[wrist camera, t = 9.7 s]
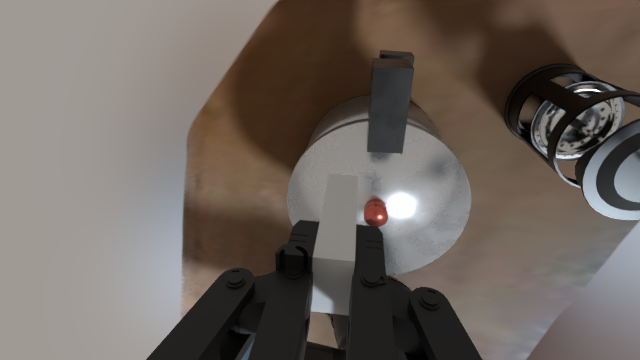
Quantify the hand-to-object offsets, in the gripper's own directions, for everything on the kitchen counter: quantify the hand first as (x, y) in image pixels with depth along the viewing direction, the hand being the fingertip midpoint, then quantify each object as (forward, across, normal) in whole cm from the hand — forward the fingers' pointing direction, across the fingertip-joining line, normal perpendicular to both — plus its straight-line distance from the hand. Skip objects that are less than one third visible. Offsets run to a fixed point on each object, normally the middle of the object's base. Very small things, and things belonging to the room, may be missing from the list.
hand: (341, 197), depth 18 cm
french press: (+27, -23, +1) cm, 35 cm away
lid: (+17, -3, +7) cm, 19 cm away
